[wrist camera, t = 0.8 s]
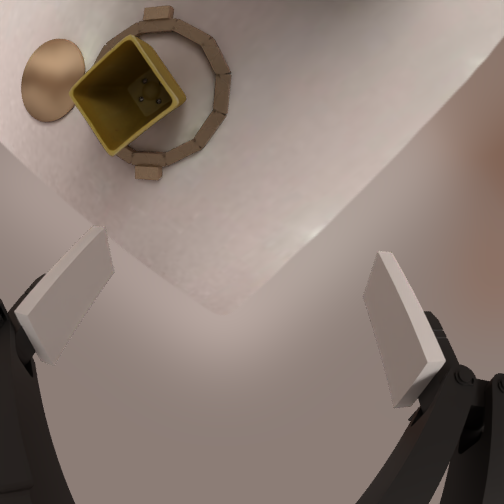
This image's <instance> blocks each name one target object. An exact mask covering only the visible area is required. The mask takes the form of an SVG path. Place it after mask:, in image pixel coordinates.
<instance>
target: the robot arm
mask: <svg viewBox="0 0 504 504" xmlns="http://www.w3.org/2000/svg"><path fill="white" fill-rule="evenodd" d="M113 274H114V269H113V264H112V259H111V254H110V249H109V244H108V238H107V233H106V227H105V226H92V227H91V228H90V229H89V230H88V231H87V232H86V233H85V234H84V235H83V236H82V237H81V238H80V239H79V240H78V241H77V242H76V243H75V244H74V245H73V246H72V247H71V248H70V249H69V250H68V251H67V252H66V253H65V254H64V255H63V256H62V257H61V258H60V259H59V261H58V262H57V263H56V264H55V265H54V266H53V267H52V268H51V269H50V270H49V271H48V272H47V273H46V274H43V275H42V276H40V277H39V278H37V279H36V280H35V281H34V282H33V283H32V284H31V286H30V288H28V289H27V290H26V291H25V294H23V295H22V296H21V297H20V298H19V299H18V301H17V302H16V303H15V304H14V306H13V307H12V308H11V309H10V310H9V312H8V313H7V311H6V309H5V307H4V304H3V302H2V300H1V299H0V504H75V502H74V500H73V498H72V495H71V493H70V491H69V488H68V486H67V483H66V480H65V478H64V475H63V473H62V470H61V467H60V464H59V461H58V458H57V455H56V452H55V449H54V446H53V443H52V439H51V436H50V432H49V428H48V425H47V421H46V417H45V413H44V408H43V404H42V399H41V394H40V389H39V384H38V379H37V373H36V367H35V362H34V359H33V358H32V356H33V355H34V353H35V352H36V353H37V355H38V357H39V358H40V360H41V361H42V362H45V363H48V364H51V365H53V366H54V365H55V364H56V362H57V360H58V359H59V357H60V355H61V354H62V352H63V350H64V349H65V347H66V345H67V343H68V342H69V340H70V338H71V337H72V335H73V334H74V332H75V331H76V329H77V327H78V326H79V324H80V322H81V321H82V319H83V318H84V316H85V315H86V313H87V311H88V310H89V309H90V307H91V306H92V304H93V303H94V301H95V300H96V298H97V297H98V295H99V294H100V292H101V291H102V289H103V287H104V286H105V285H106V284H107V282H108V281H109V279H110V278H111V276H112V275H113ZM363 299H364V302H365V305H366V309H367V311H368V315H369V318H370V321H371V324H372V328H373V331H374V335H375V338H376V341H377V344H378V348H379V352H380V355H381V359H382V363H383V366H384V370H385V374H386V377H387V381H388V385H389V390H390V393H391V398H392V402H393V406H394V408H400V407H410V406H412V405H413V403H414V402H415V401H416V400H417V399H419V402H420V407H419V408H418V409H417V410H416V411H415V412H414V414H413V415H412V416H411V417H410V418H409V419H408V420H409V421H411V422H410V424H409V425H408V427H407V429H406V430H405V432H404V434H403V436H402V437H401V439H400V441H399V442H398V444H397V446H396V447H395V449H394V450H393V452H392V454H391V455H390V457H389V458H388V460H387V461H386V463H385V464H384V466H383V467H382V469H381V470H380V472H379V473H378V474H377V476H376V477H375V479H374V480H373V482H372V483H371V484H370V486H369V487H368V488H367V490H366V491H365V492H364V494H363V495H362V496H361V498H360V499H359V500H358V501H357V503H356V504H429V502H430V500H431V498H432V496H433V495H434V493H435V491H436V489H437V487H438V485H439V483H440V481H441V479H442V477H443V475H444V473H445V471H446V469H447V466H448V464H449V462H450V464H449V468H448V473H447V477H446V482H445V486H444V490H443V493H442V497H441V501H440V504H504V374H502V373H498V374H496V375H495V376H494V377H493V378H492V379H491V381H485V380H480V379H476V377H475V375H474V373H473V372H472V370H470V369H469V368H468V367H466V366H463V365H459V363H458V361H457V358H456V356H455V354H454V351H453V349H452V347H451V345H450V343H449V341H448V339H447V338H446V334H445V333H444V331H443V328H442V326H441V324H440V323H439V320H438V319H437V318H436V317H435V316H434V315H433V314H432V313H431V312H429V311H428V312H427V311H426V312H425V311H423V310H422V308H421V306H420V304H419V302H418V300H417V298H416V296H415V294H414V292H413V290H412V288H411V286H410V285H409V282H408V281H407V279H406V277H405V275H404V273H403V271H402V270H401V268H400V266H399V264H398V262H397V261H396V259H395V257H394V255H393V254H392V252H383V251H377V255H376V258H375V261H374V264H373V268H372V270H371V274H370V277H369V280H368V283H367V286H366V289H365V292H364V294H363Z"/></svg>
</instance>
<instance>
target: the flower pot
mask: <svg viewBox="0 0 504 504" xmlns="http://www.w3.org/2000/svg"><path fill="white" fill-rule="evenodd" d="M143 79H147V82H146V83H143ZM160 82H161V83H162V85H161V84H160ZM69 96H70V98H71V99H72V101H73V102H74V104H75V105H76V107H77V108H78V109H79V111H80V112H81V114H82V115H83V117H84V118H85V120H86V121H87V123H88V124H89V126H90V127H91V129H92V130H93V132H94V133H95V135H96V137H97V138H98V140H99V141H100V143H101V144H102V146H103V147H104V149H105V150H106V152H107V153H108V154H109V155H110V156H112V157H113V156H115V155H116V154H117V153H118V152H120V151H121V150H122V149H123V148H125V147H126V146H127V145H128V144H130V143H131V142H132V141H133V140H135V139H136V138H137V137H138V136H139V135H141V134H142V133H143V132H144V131H146V130H147V129H148V128H149V127H151V126H152V125H153V124H155V123H156V122H157V121H159V120H160V119H161V118H163V117H164V116H166V115H167V114H168V113H170V112H171V111H173V110H174V109H176V108H177V107H179V106H180V105H182V104H183V103H184V102H185V101H186V95H185V94H184V92H183V91H182V89H181V88H180V87H179V85H178V84H177V82H176V81H175V79H174V78H173V77H172V75H171V74H170V72H169V71H168V69H167V68H166V67H165V65H164V64H163V62H162V61H161V59H160V58H159V56H158V55H157V53H156V52H155V50H154V49H153V48H152V47H151V46H150V45H149V44H147V43H145V42H144V41H142V40H141V39H139V38H137V37H135V36H134V35H131V34H130V35H128V36H126V37H125V38H123V39H122V40H121V41H120V42H119V43H117V44H116V45H115V46H114V47H113V48H112V49H111V50H110V51H109V52H107V53H106V54H105V55H104V56H103V57H102V58H101V59H100V60H99V61H98V62H97V63H96V64H95V65H94V66H93V67H92V68H91V69H90V70H88V71H87V72H86V73H85V74H84V75H83V76H82V77H81V78H80V79H79V80H78V81H77V82H76V83H75V84H74V86H73V87H72V88H71V90H70V91H69ZM140 97H143V98H144V99H143V101H140V100H139V99H140ZM158 99H160V100H161V103H159V104H158V103H157V100H158Z"/></svg>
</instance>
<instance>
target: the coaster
mask: <svg viewBox="0 0 504 504" xmlns="http://www.w3.org/2000/svg"><path fill="white" fill-rule="evenodd" d="M84 74H85V64H84V59H83V56H82V53H81V51H80V50H79V48H78V47H77V46H76V45H75V44H74V43H73V42H71V41H69V40H65V39H54V40H50V41H48V42H46V43H44V44H43V45H41V46H40V47H39V48H38V49H37V50H36V51H35V52H34V53H33V54H32V56H31V57H30V59H29V61H28V62H27V65H26V67H25V70H24V73H23V77H22V84H21V93H22V99H23V102H24V105H25V107H26V109H27V111H28V112H29V114H30V115H31V116H32V117H34V118H35V119H37V120H39V121H43V122H50V121H54V120H57V119H59V118H61V117H63V116H64V115H66V114H67V113H68V112H69V111H70V110H71V109H72V108H73V106H74V105H75V104H74V102H73V101H72V99H71V98H70V96H69V91H70V90H71V88H72V87H73V86H74V84H75V83H76V82H77V81H78V80H79V79H80V78H81V77H82V76H83V75H84Z"/></svg>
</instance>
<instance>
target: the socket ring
mask: <svg viewBox="0 0 504 504" xmlns="http://www.w3.org/2000/svg"><path fill="white" fill-rule="evenodd" d="M173 13H174V8H172V7H171V6H159V7H150V8H145V10H144V17H143V20H144V21H140V22H139V23H135V24H134V25H132V26H130V27H129V28H127V29H126V30H124V31H123V32H121V33H120V34H119V35H117V36H116V37H114V38H113V39H111V40H110V41H109V42H107V43H106V44H107V45H104V47H103V48H102V50H101V52H100V54H99V56H98V57H97V59H96V61H95V63H94V65H95V64H96V63H97V62H98V61H99V60H100V59H101V58H102V57H103V56H104V55H105V54H106V53H107V52H109V51H110V50H111V49H112V48H113V47H114V46H115V45H116V44H117V43H119V42H120V41H121V40H122V39H123V38H125V37H126V36H128V35H130V34H131V35H134V36H135V37H139V36H140V35H142V34H146V33H159V32H177V33H179V34H181V35H183V36H184V37H186V38H188V39H190V40H192V41H194V42H195V43H197V44H199V45H201V46H202V48H203V50H204V52H205V54H206V56H207V58H208V60H209V62H210V64H211V66H212V68H213V70H214V72H215V74H216V84H215V94H214V105H213V111H212V113H211V114H210V115H209V117H208V118H207V120H206V121H205V123H204V124H203V125H202V127H201V128H200V130H199V131H198V133H197V134H196V136H195V137H194V139H192V140H190V141H188V142H186V143H184V144H182V145H180V146H178V147H176V148H174V149H172V150H170V151H168V152H147V151H136V150H134V149H132V148H131V147H129V146H128V145H127V146H126V147H125V148H123V149H122V150H121V151H120V152H118V153H117V154H116V155H117V156H118V157H120V158H121V159H123V160H124V161H126V162H127V163H129V164H130V163H132V165H136V166H135V179H147V180H159V179H160V178H161V177H162V166H167V165H168V166H169V165H171V164H173V163H175V162H177V161H179V160H181V159H183V158H185V157H187V156H189V155H191V154H193V153H195V152H197V151H199V150H201V149H202V148H203V147H205V145H206V144H207V142H208V141H209V139H210V138H211V137H212V135H213V134H214V132H215V131H216V130H217V128H218V127H219V125H220V124H221V123H222V121H223V120H224V118H225V117H226V116H227V115H225V114H227V113H228V105H229V95H230V85H231V76H232V75H230V74H229V73H231V71H230V69H229V67H228V65H227V63H226V61H225V59H224V57H223V55H222V53H221V51H220V49H219V47H218V45H217V43H216V41H215V39H213V37H211V36H210V35H208V34H206V33H204V32H203V31H201V30H199V29H197V28H195V27H193V26H191V25H189V24H188V23H186V22H184V21H182V20H180V19H176V18H175V19H173ZM94 65H93V66H94ZM99 142H100V141H99Z"/></svg>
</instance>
